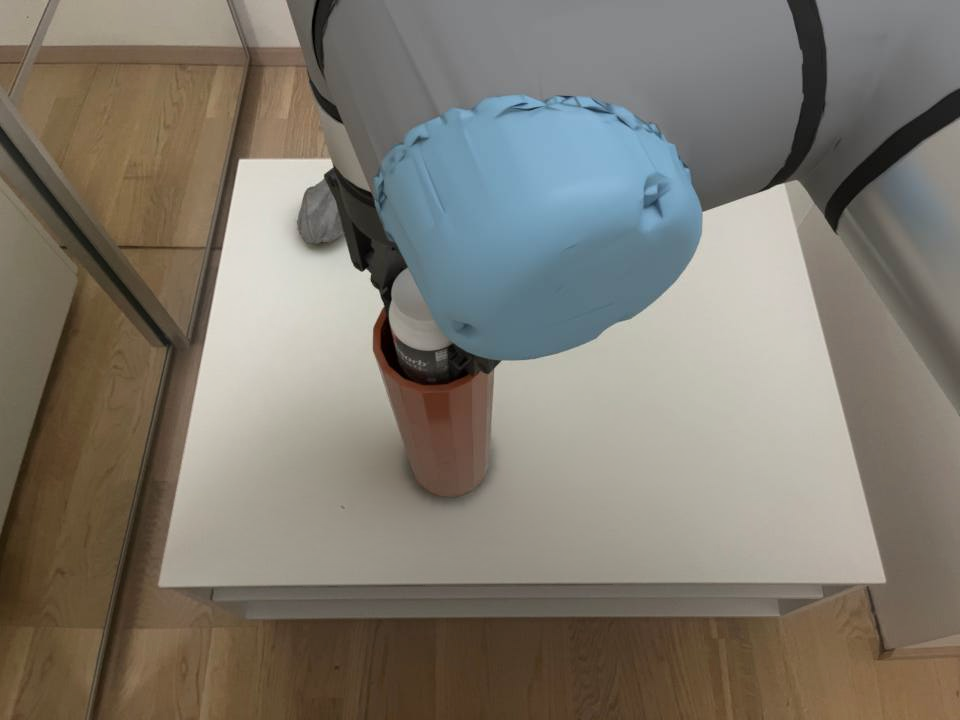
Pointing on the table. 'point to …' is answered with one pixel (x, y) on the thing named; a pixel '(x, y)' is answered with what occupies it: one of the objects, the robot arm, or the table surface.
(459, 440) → the tall brown vase
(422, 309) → the pill bottle
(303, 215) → the grey rock
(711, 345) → the table surface
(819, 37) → the robot arm
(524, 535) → the table surface
